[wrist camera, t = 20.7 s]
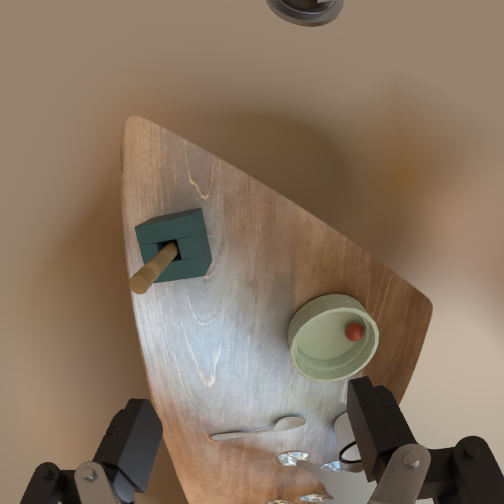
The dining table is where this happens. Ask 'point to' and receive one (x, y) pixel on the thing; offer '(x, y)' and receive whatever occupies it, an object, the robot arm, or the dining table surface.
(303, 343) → the bowl
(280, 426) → the spoon
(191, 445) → the dining table surface
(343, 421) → the mug
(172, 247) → the stick
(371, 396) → the robot arm
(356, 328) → the ball
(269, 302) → the dining table surface
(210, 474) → the dining table surface
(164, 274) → the holder
